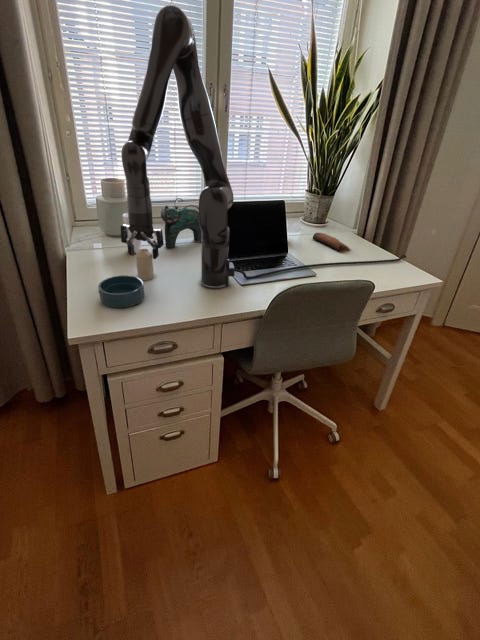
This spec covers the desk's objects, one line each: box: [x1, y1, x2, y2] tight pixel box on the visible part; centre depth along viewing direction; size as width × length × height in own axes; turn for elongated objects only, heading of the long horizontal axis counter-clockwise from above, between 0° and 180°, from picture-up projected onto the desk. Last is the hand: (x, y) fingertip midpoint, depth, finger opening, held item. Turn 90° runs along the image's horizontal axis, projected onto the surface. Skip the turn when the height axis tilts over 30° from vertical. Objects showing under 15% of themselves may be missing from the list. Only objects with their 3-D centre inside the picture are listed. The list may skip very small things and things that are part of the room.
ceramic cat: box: [160, 197, 201, 249], centre depth 149 cm, size 20×6×20 cm, turn 129°
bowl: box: [97, 274, 145, 309], centre depth 108 cm, size 13×13×5 cm
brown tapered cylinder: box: [312, 232, 351, 253], centre depth 164 cm, size 18×7×7 cm
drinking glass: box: [122, 212, 143, 254], centre depth 140 cm, size 7×7×15 cm
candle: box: [135, 248, 155, 281], centre depth 121 cm, size 6×6×10 cm
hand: (143, 256), depth 120 cm, fingers open, 8 cm apart
